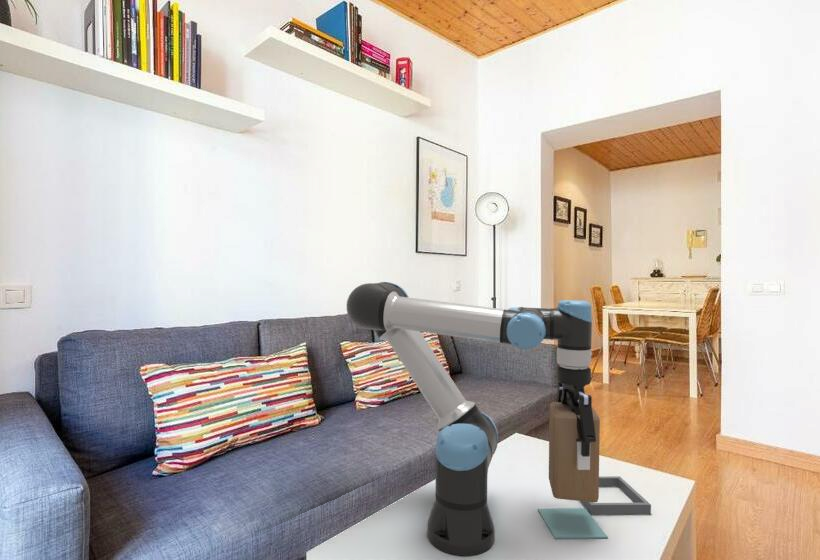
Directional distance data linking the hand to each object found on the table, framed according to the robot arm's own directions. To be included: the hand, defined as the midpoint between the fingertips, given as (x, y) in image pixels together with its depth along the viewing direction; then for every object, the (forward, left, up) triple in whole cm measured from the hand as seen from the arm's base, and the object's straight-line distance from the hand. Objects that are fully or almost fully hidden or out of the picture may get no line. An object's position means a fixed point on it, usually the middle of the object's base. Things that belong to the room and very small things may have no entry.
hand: (572, 458), depth 104 cm
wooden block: (0, 0, -8) cm, 8 cm away
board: (0, 0, -16) cm, 16 cm away
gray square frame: (+14, +11, -16) cm, 24 cm away
